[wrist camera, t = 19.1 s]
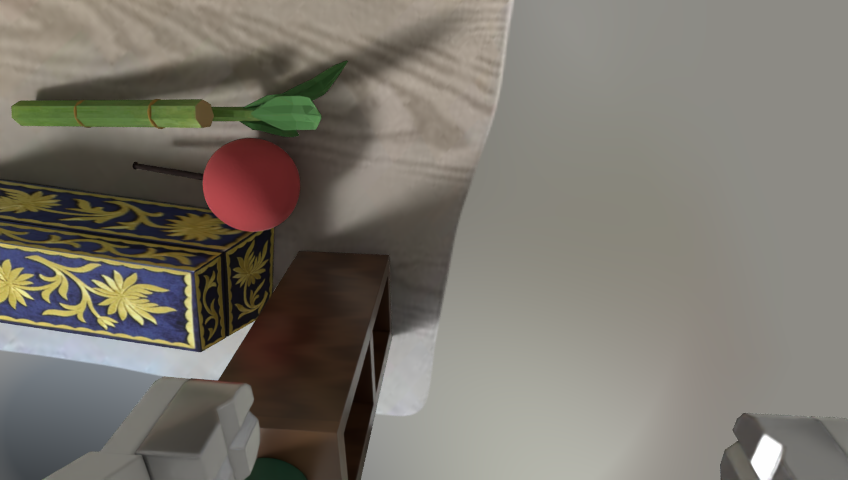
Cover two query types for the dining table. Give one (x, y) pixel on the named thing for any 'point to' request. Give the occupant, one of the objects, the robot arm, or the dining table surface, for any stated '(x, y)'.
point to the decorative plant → (186, 110)
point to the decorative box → (128, 267)
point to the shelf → (319, 362)
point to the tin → (274, 470)
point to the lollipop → (247, 184)
